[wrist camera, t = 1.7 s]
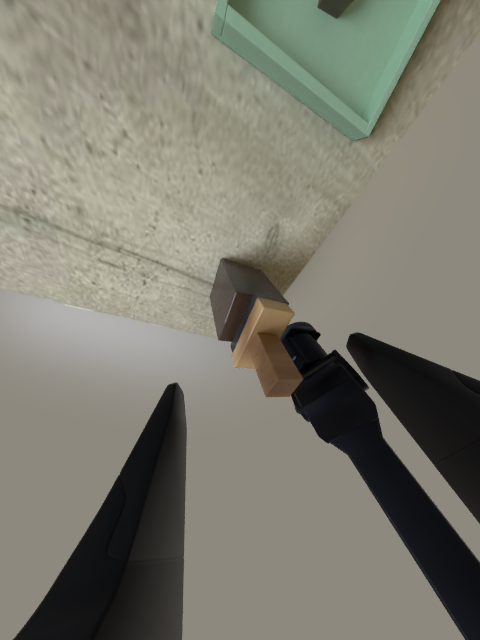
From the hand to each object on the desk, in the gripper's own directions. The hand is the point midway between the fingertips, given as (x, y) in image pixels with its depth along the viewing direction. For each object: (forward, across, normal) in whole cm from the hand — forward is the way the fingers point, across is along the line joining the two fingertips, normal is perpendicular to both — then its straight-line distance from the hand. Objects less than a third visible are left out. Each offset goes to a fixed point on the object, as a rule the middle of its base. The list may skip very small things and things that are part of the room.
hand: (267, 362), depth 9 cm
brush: (+6, -1, +3) cm, 7 cm away
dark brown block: (+14, -1, +3) cm, 15 cm away
